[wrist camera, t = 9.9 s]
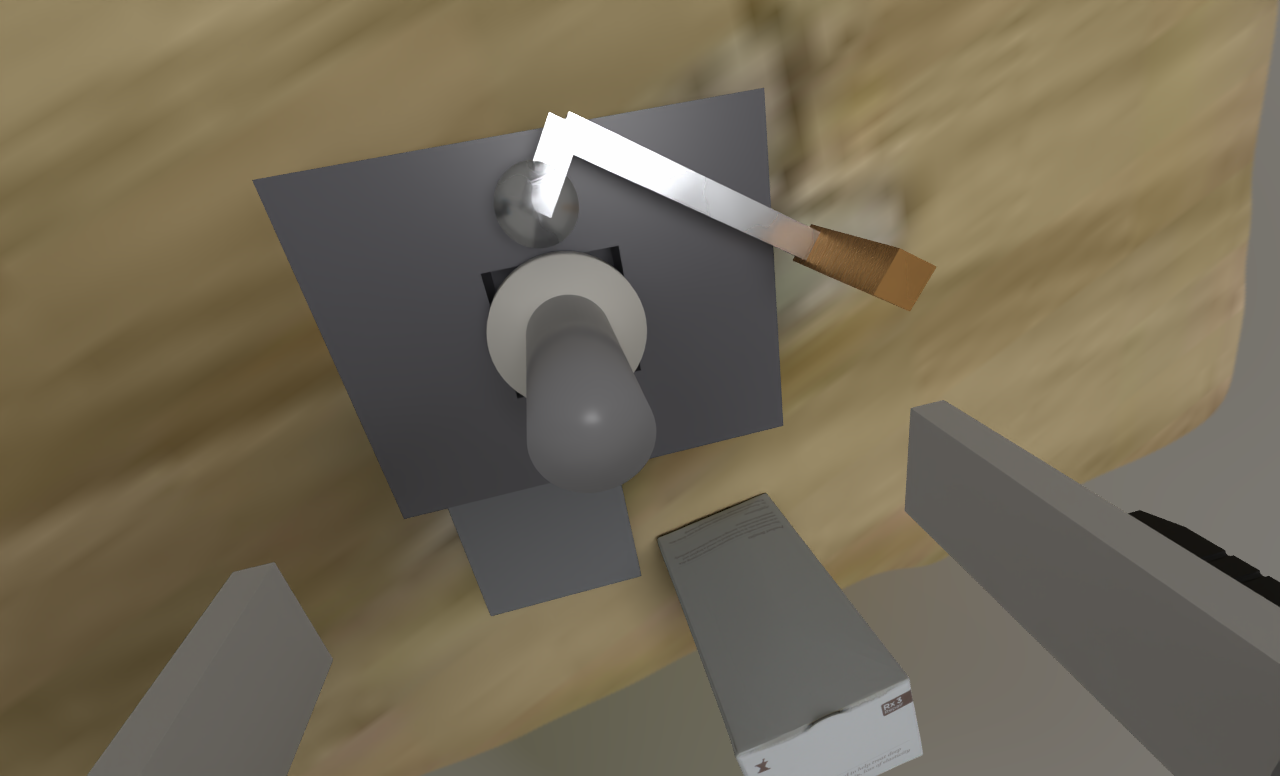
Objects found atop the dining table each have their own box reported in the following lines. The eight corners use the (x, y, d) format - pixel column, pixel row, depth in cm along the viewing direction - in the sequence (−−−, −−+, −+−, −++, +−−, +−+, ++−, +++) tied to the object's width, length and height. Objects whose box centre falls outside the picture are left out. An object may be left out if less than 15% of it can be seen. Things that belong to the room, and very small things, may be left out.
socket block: (419, 475, 30) (395, 544, 25) (294, 175, 24) (226, 183, 18) (755, 394, 32) (799, 443, 27) (731, 96, 25) (783, 82, 20)
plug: (511, 378, 29) (502, 561, 16) (476, 250, 26) (430, 350, 13) (636, 352, 29) (719, 506, 17) (615, 224, 26) (698, 296, 14)
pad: (491, 609, 35) (490, 616, 35) (442, 485, 31) (440, 491, 30) (639, 569, 36) (641, 575, 36) (612, 444, 32) (613, 449, 31)
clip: (785, 343, 25) (858, 398, 19) (484, 226, 20) (468, 254, 15) (841, 239, 23) (936, 266, 18) (528, 87, 19) (527, 62, 13)
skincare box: (679, 593, 38) (760, 837, 24) (653, 531, 35) (728, 766, 22) (789, 549, 38) (930, 766, 25) (772, 484, 35) (918, 688, 22)
